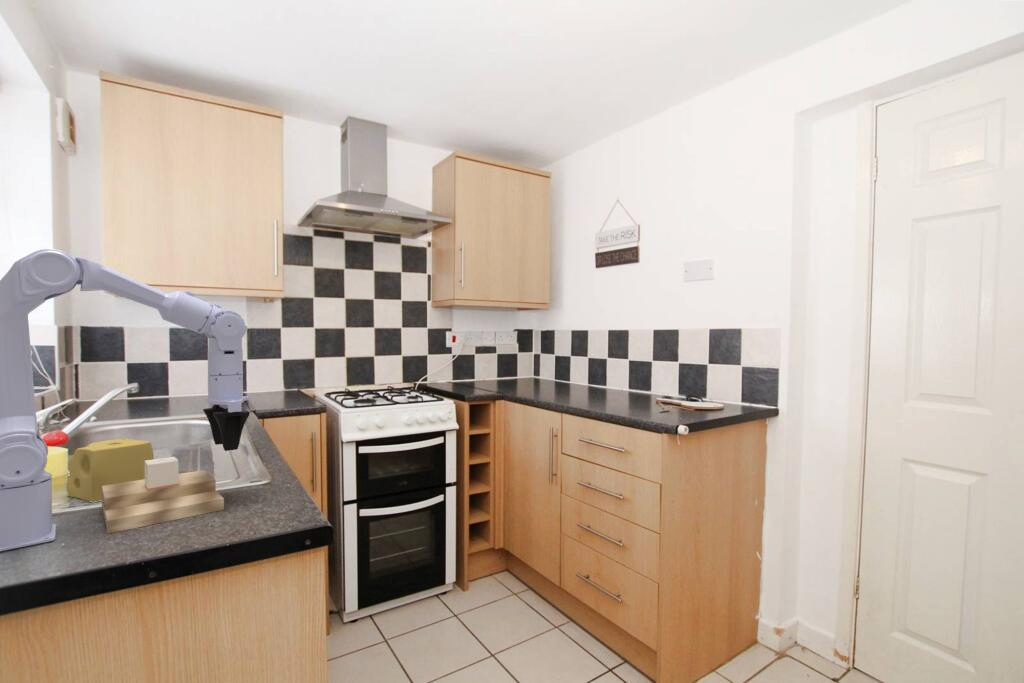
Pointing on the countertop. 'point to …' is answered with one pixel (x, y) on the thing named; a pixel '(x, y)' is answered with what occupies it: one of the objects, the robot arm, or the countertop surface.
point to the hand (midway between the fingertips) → (226, 446)
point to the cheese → (106, 466)
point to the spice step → (159, 501)
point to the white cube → (161, 473)
